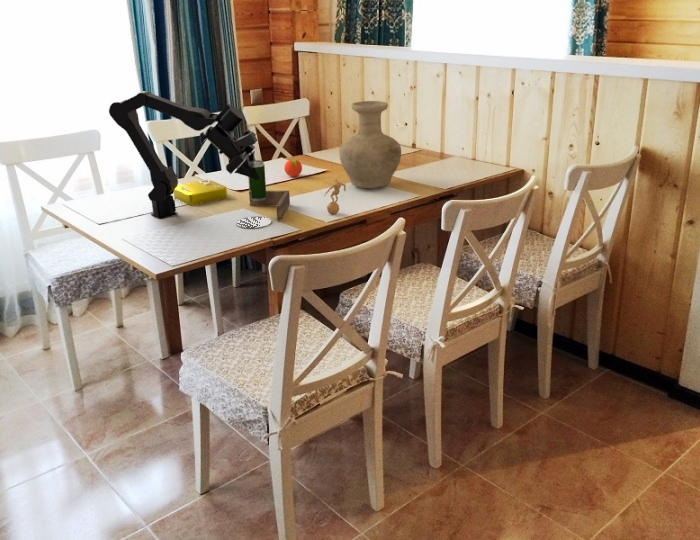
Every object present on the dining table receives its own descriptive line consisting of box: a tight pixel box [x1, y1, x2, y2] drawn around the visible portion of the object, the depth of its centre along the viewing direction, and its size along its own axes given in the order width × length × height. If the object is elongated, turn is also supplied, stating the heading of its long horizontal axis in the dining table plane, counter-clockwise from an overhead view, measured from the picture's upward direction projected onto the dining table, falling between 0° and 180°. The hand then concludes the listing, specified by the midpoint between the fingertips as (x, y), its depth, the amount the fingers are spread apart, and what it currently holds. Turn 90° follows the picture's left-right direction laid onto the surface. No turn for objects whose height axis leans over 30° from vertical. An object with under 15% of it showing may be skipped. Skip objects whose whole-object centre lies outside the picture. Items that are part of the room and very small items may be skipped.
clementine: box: [284, 158, 303, 178], centre depth 267 cm, size 8×7×7 cm
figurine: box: [324, 178, 347, 215], centre depth 221 cm, size 8×6×12 cm
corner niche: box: [248, 190, 291, 221], centre depth 226 cm, size 14×18×5 cm
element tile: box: [173, 179, 228, 206], centre depth 245 cm, size 15×15×5 cm
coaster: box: [236, 216, 268, 228], centre depth 217 cm, size 11×11×1 cm
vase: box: [338, 100, 402, 189], centre depth 248 cm, size 22×22×30 cm
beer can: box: [247, 159, 267, 201], centre depth 219 cm, size 5×5×12 cm
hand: (260, 176), depth 218 cm, fingers closed on beer can, 5 cm apart
